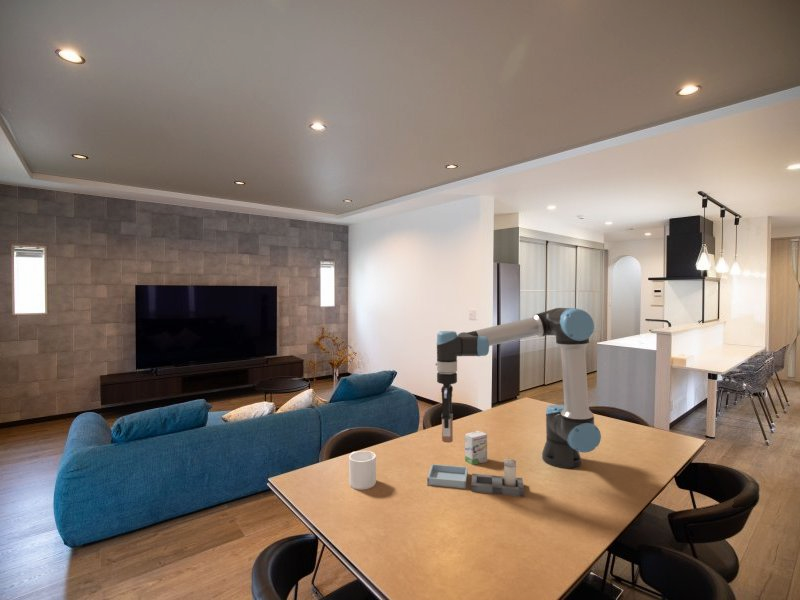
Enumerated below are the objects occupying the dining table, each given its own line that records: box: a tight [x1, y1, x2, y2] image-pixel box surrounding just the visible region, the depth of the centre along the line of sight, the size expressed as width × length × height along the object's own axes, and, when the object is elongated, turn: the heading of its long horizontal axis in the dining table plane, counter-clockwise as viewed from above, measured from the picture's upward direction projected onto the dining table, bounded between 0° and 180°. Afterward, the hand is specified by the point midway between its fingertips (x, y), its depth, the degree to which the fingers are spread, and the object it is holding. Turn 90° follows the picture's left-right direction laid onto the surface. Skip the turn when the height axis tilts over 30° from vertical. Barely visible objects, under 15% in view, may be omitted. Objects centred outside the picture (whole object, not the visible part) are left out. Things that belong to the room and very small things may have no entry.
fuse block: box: [470, 473, 525, 498], centre depth 138 cm, size 18×9×3 cm, turn 77°
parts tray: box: [426, 463, 469, 490], centre depth 145 cm, size 14×12×3 cm
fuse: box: [503, 458, 517, 487], centre depth 137 cm, size 4×4×10 cm
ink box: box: [464, 430, 488, 466], centre depth 161 cm, size 8×5×12 cm, turn 120°
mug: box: [348, 450, 377, 491], centre depth 144 cm, size 13×10×10 cm
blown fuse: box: [441, 413, 454, 443], centre depth 145 cm, size 4×4×10 cm
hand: (447, 433), depth 145 cm, fingers closed on blown fuse, 4 cm apart
